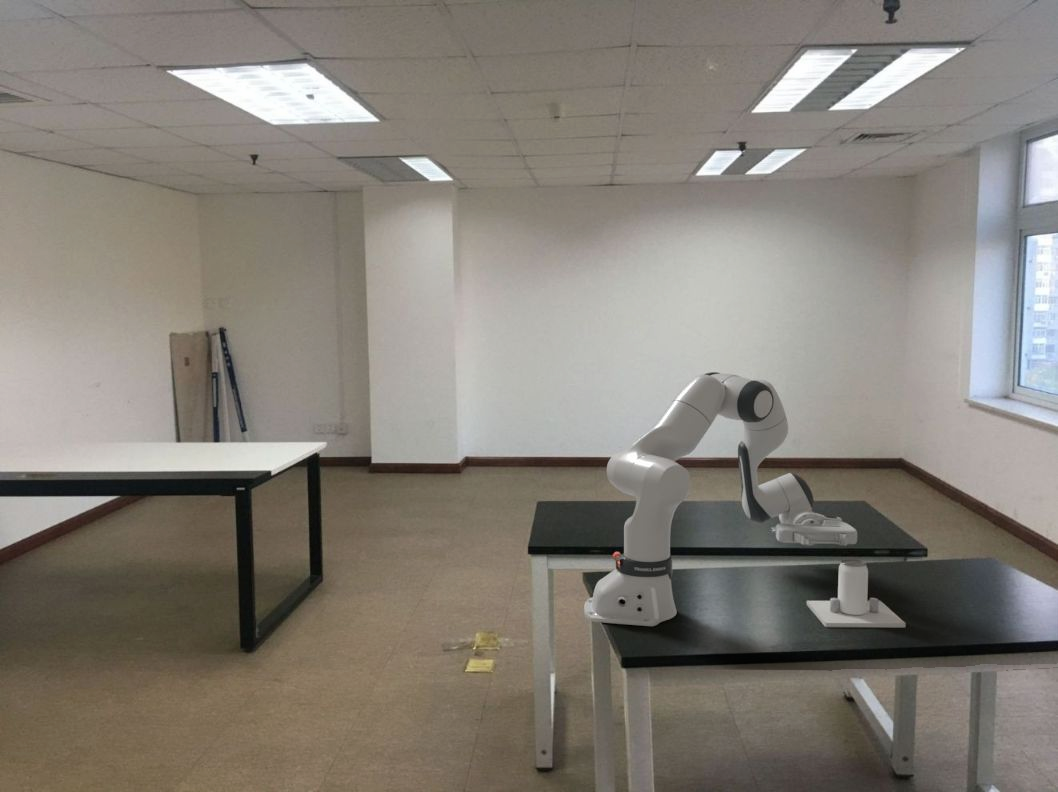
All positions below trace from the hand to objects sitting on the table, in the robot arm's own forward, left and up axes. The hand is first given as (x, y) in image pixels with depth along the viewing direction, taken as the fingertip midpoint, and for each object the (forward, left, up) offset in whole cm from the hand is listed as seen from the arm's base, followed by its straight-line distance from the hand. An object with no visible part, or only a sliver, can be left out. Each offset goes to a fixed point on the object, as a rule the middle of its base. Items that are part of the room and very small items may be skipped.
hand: (824, 542), depth 193 cm
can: (+3, -12, -13) cm, 18 cm away
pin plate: (+3, -13, -14) cm, 19 cm away
